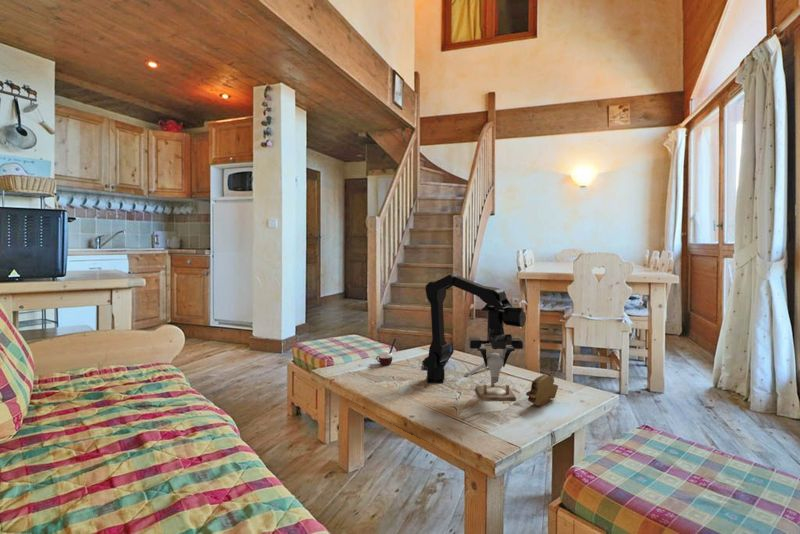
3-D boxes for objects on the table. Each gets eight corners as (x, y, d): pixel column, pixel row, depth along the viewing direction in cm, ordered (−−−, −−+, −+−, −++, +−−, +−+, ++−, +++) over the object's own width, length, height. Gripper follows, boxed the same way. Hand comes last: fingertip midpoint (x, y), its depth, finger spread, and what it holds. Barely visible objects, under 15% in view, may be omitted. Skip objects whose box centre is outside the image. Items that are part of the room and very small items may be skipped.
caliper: (494, 367, 188) (494, 353, 188) (496, 367, 187) (496, 353, 187) (464, 376, 174) (464, 361, 174) (466, 377, 174) (466, 362, 173)
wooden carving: (546, 395, 152) (546, 368, 151) (558, 399, 149) (559, 371, 148) (523, 408, 140) (523, 379, 140) (535, 412, 137) (536, 382, 137)
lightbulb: (484, 380, 157) (484, 350, 156) (500, 379, 157) (500, 350, 156) (488, 386, 151) (489, 355, 150) (505, 385, 151) (506, 355, 150)
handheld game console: (424, 360, 199) (424, 341, 198) (453, 361, 197) (453, 341, 197) (422, 370, 183) (422, 349, 183) (453, 371, 182) (453, 350, 181)
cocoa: (374, 364, 193) (372, 338, 192) (384, 361, 198) (382, 336, 197) (389, 368, 187) (387, 341, 186) (399, 364, 191) (397, 338, 191)
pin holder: (481, 400, 148) (481, 388, 148) (476, 388, 160) (476, 377, 160) (515, 400, 148) (515, 388, 148) (508, 388, 160) (508, 377, 160)
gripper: (472, 328, 145) (472, 373, 146) (527, 328, 144) (526, 373, 145) (468, 322, 156) (467, 363, 157) (519, 322, 155) (518, 364, 156)
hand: (494, 366), depth 153 cm, fingers closed on lightbulb, 6 cm apart
